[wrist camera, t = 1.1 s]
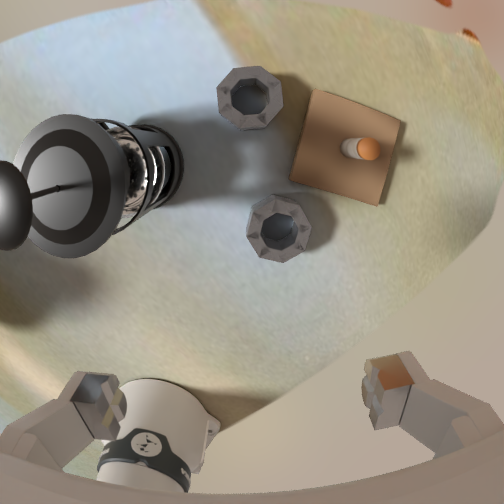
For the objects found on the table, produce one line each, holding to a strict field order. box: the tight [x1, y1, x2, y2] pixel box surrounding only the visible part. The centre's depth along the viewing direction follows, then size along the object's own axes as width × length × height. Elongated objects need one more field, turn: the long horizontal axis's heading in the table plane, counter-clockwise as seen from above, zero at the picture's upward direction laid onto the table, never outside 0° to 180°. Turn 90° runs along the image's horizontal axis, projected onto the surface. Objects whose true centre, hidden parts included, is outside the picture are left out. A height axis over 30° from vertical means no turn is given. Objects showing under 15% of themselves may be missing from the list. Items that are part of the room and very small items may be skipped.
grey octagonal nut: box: [246, 194, 312, 263], centre depth 33 cm, size 6×6×4 cm
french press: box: [0, 114, 184, 258], centre depth 21 cm, size 12×9×23 cm
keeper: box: [289, 89, 401, 206], centre depth 29 cm, size 10×10×8 cm
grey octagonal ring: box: [217, 66, 283, 130], centre depth 29 cm, size 6×6×4 cm
